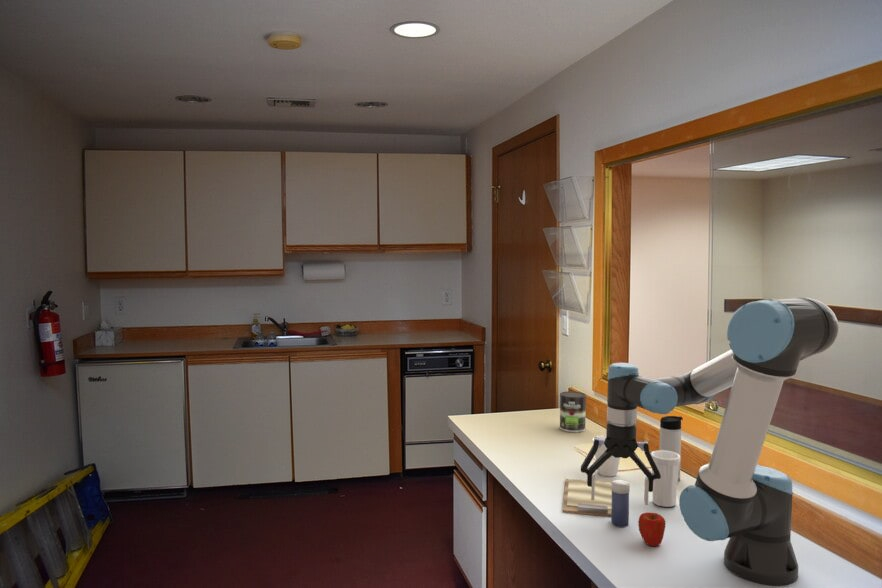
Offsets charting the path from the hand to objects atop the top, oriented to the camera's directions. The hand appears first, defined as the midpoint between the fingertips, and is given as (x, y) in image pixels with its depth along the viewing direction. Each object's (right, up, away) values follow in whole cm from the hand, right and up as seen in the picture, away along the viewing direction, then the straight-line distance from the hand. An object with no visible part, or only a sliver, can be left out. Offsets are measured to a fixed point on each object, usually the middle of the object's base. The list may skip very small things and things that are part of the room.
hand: (619, 500), depth 167 cm
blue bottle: (0, -6, 0) cm, 6 cm away
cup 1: (+7, -3, +36) cm, 37 cm away
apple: (+5, -7, -11) cm, 14 cm away
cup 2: (+17, -5, +13) cm, 21 cm away
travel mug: (+25, -4, +31) cm, 40 cm away
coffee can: (+6, 0, +86) cm, 86 cm away
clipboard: (-3, -5, +17) cm, 18 cm away
